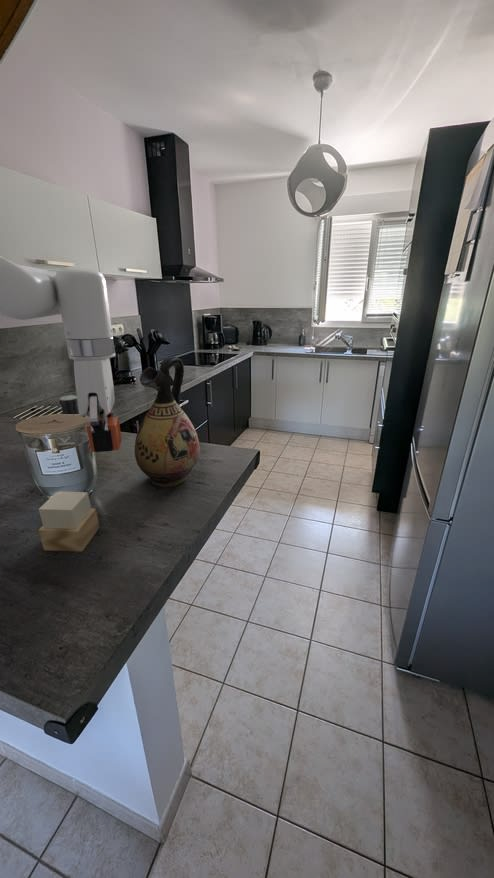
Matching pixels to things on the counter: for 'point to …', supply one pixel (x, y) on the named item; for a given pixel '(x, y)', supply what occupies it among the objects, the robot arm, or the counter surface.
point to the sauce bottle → (69, 404)
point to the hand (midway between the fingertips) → (106, 443)
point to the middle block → (65, 510)
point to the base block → (70, 535)
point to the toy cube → (115, 433)
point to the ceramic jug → (166, 429)
